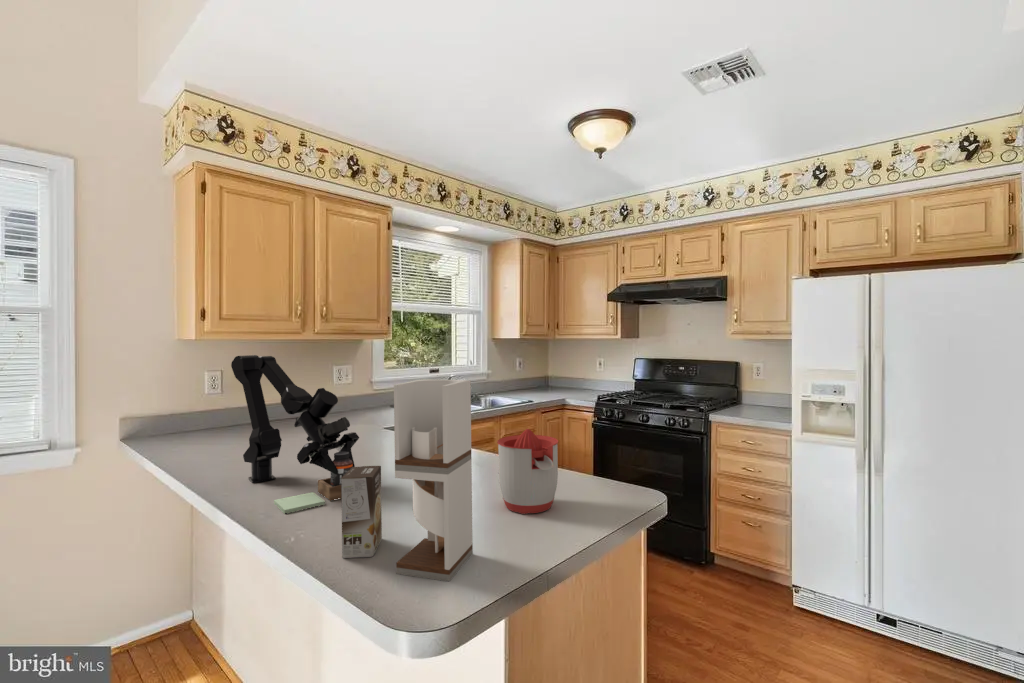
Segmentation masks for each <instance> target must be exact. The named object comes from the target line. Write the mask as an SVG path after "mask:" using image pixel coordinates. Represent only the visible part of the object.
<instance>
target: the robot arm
mask: <svg viewBox="0 0 1024 683" xmlns="http://www.w3.org/2000/svg"><path fill="white" fill-rule="evenodd" d="M230 366H231V370H232V373H233V375H234V378H235V379H236V380H238V382H239V383H240V384H241V385H242V387H243V392H244V397H245V401H246V402H245V403H246V406H247V409H248V414H249V420H250V423H251V424H250V425H251V427H252V430H251V434H250V435H249V438H248V444H249V446H248V448H247V449H246V451H245V452H244V453H243V455H242V456H243V457H242V458H243V460H244V462H245V463H251V476H248V478H247V480H249V481H250V482H251V483H252V484H255V483H262V482H266V481H272V480H276V476H275V475H273V459H275V458H279V456H280V451H281V449H282V441H283V440H282V437H281V434H280V429H279V428H274V427H273V426H272V425H271V423H270V419H269V414H268V409H267V406H266V401H265V396H264V392H263V387H262V384H261V379H262V377H263V375H264V376H265V378H266V379H267V381H268V382H269V383H270V384H271V386H273V388H274V389H275V390H276V391H277V393H278V394H279V396H280V403H281V405H282V407H283V408H284V410H285V412H286V413H287V414H288V415H298V414H300V415H299V416H297V417H295V422H294V427H295V428H299V427H302V429H303V430H304V431H305V433H306V434H307V437H306V441H307V443H305V444H304V445H303V446H302V448H300V450H299V451H298V453H297V454H296V455H297V456H296V459H297V461H298V462H299V464H300V465H302V464H307V463H309V465H311V464H312V465H314V466H317V467H320V468H322V469H325V470H326V471H329V472H330V473H331V472H332V473H334V474H337V473H338V470H337V468H336V466H335V464H334V463H333V460H332V458H331V456H330V455H329V451H332V450H335V449H336V450H337V452H349V458H350V460H352V462H353V467H356V465H355V461H354V457H353V453H352V448H353V447H354V445H355V444H356V443H357V441H358V440H359V439H360V437H359V435H358V434H357V432H354V431H353V432H352V431H351V432H347V433H344V434H343V435H342V437H341V438H340V436H341V433H343V432H345V431H348V430H349V429H348V428H350V426H351V424H350V421H349V420H348V419H347V417H346V416H345V417H341V418H339V419H337V420H334V421H332V422H328V423H326V421H325V420H324V419H323V418H327V417H328V416H329V414H330V413H331V412H332V410H333V409H334V408H335V406H336V405H337V404H338V403H339V400H338V397H337V395H336V394H335V393H333V392H331V391H330V390H326V389H325V387H320V388H317V390H316V391H315V392H314V395H311V394H310V393H309V392H308V391H306V389H304V388H302V387H300V386H298V385H297V384H295V383H294V381H293V380H292V379H291V378H290V377H289V376H288V375H287V373H286V372H285V371H284V369H283V368H282V367H281V366H280V365H279V363H278V362H277V359H276V358H275V356H272V355H261V356H259V355H256V354H252V355H251V354H250V355H249V354H248V355H237V356H235V357H233V360H232V361H231V363H230ZM338 438H340V439H338Z"/></svg>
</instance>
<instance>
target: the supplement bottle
mask: <svg viewBox="0 0 1024 683" xmlns="http://www.w3.org/2000/svg"><path fill="white" fill-rule="evenodd" d="M332 461H333V463H334V464H335V466H336V468H337V470H338V473H337V474H334V473H332V472H330V478H331V486H332V487H333V486H338V485H341V478H342V477H343V476H344V475H345V474H346V473H347V472H348V471H349V470H350V469H351V468H352V467H353V462H352V460H350V458H349V452H338V451H336V452H335V453H334V454H333V460H332Z"/></svg>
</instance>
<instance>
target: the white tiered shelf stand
mask: <svg viewBox="0 0 1024 683" xmlns="http://www.w3.org/2000/svg"><path fill="white" fill-rule="evenodd" d="M471 382H472V381H471V379H434V378H433V379H427V378H426V379H416V380H412V381H407V382H401V383H396V384H393V406H394V407H393V425H394V430H393V431H394V478H395V479H405V480H412V514H413V517H414V518H415V521H416V522H417V523H418V524H419V526H421V527H423V528H424V529H425V530H426V531H427V538H424V537H423V539H422V540H421V541H420V542H419V543H417V544H416V545H415V546H413V547H412V548H411V549H410V550H409V551H408V552H407V553H406V554H405V555H403V557H401V558H400V559H399V560H398V561H397V562H396V564H395V565H396V571H395V572H396V575H403V576H408V577H409V576H410V577H417V578H422V579H423V578H424V579H431V580H437V581H443V582H444V581H445V582H450V581H451V580H452V579H453V578H454V577H455V575H456V574H457V573H458V572H459V571H460V570H461V569H462V567H463V566H464V565H465V564H466V563H467V561H468V560H469V559H470V558H471V556H472V555H473V554H474V552H473V551H474V550H473V549H474V548H473V544H474V543H473V541H474V540H473V539H474V538H473V483H472V482H473V481H472V480H473V479H472V478H473V476H472V475H473V474H472V472H473V470H472V469H473V468H472V467H473V466H472V402H471V401H472V398H471V397H472V396H471V395H472V392H471V388H472V387H471V385H472V384H471Z"/></svg>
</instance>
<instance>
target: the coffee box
mask: <svg viewBox="0 0 1024 683" xmlns="http://www.w3.org/2000/svg"><path fill="white" fill-rule="evenodd" d="M341 488H342V491H341V492H342V499H341V558H342V559H353V558H372V557H374V555H375V553H376V552H377V550H378V547H379V545H380V543H381V542H382V539H383V538H382V537H383V536H382V535H383V534H382V532H383V529H382V528H383V526H382V524H383V523H382V519H383V518H382V466H381V465H363V466H361V465H360V466H355V467H352V468H351V469H350V470H349V471H348V472H347V473H346V474H345V475H344V476H343V477H342V478H341Z"/></svg>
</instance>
